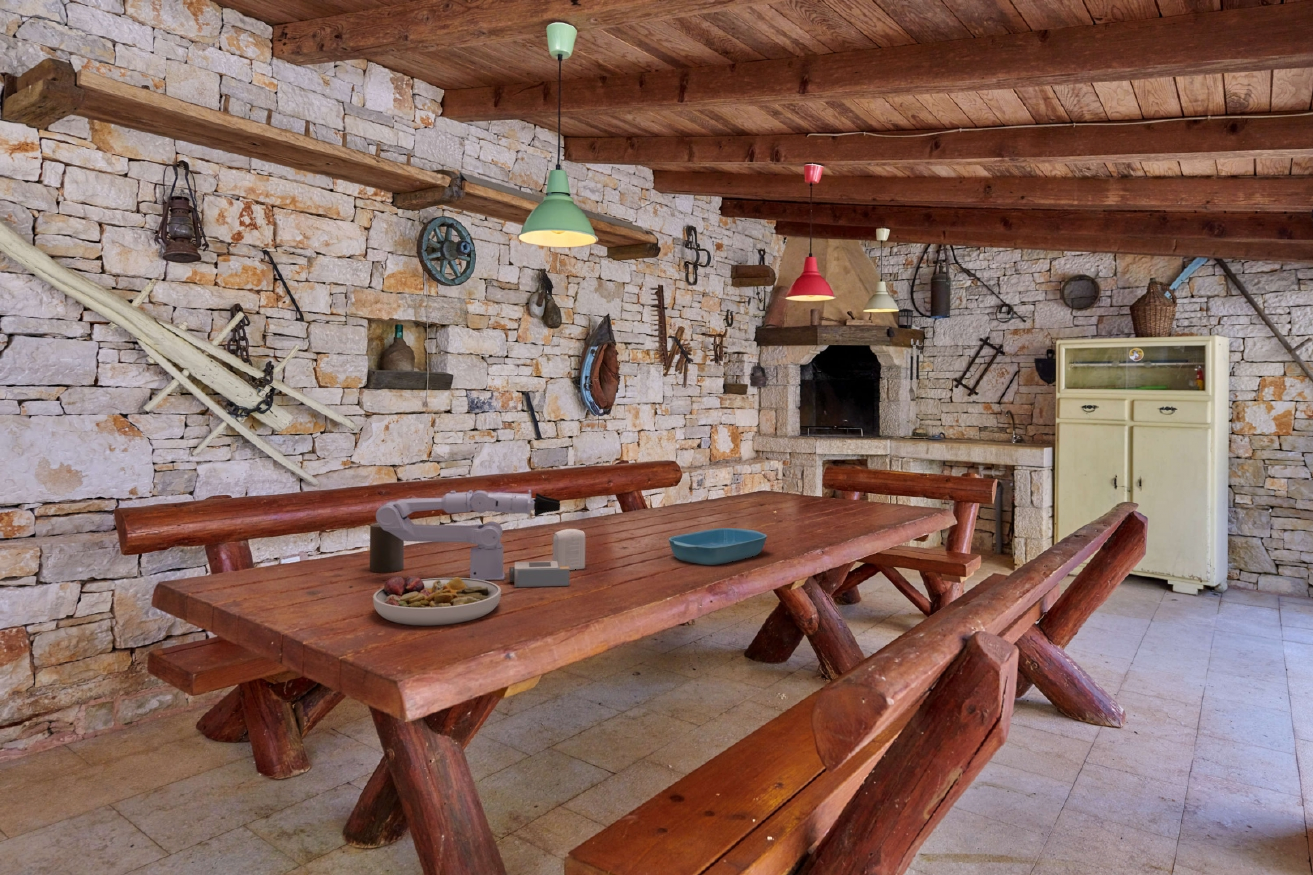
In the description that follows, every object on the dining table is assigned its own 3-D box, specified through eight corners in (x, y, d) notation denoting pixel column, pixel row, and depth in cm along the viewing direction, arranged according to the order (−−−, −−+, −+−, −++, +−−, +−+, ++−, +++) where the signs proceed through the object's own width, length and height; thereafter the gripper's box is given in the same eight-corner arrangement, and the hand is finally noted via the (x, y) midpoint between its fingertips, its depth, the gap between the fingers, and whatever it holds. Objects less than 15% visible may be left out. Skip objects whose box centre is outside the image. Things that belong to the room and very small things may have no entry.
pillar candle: (382, 574, 230) (382, 523, 229) (362, 569, 236) (363, 519, 235) (410, 569, 238) (411, 520, 237) (391, 564, 244) (391, 516, 243)
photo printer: (580, 566, 245) (580, 526, 244) (587, 569, 241) (587, 528, 240) (550, 570, 239) (550, 529, 238) (556, 572, 235) (556, 531, 235)
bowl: (519, 600, 204) (520, 570, 204) (466, 634, 175) (466, 599, 175) (414, 592, 211) (414, 563, 211) (346, 624, 182) (346, 590, 181)
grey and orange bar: (514, 587, 216) (514, 570, 216) (514, 584, 220) (514, 567, 220) (569, 585, 219) (569, 569, 218) (568, 582, 222) (568, 566, 222)
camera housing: (508, 586, 217) (509, 568, 217) (509, 579, 226) (509, 561, 226) (558, 585, 220) (558, 567, 219) (557, 578, 228) (557, 560, 228)
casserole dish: (707, 571, 242) (707, 547, 241) (655, 559, 257) (655, 537, 257) (778, 554, 268) (779, 533, 267) (727, 545, 283) (727, 525, 283)
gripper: (512, 491, 221) (561, 493, 223) (514, 487, 235) (560, 489, 237) (510, 516, 221) (559, 518, 223) (513, 510, 235) (558, 512, 237)
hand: (559, 505), depth 230 cm, fingers open, 7 cm apart
